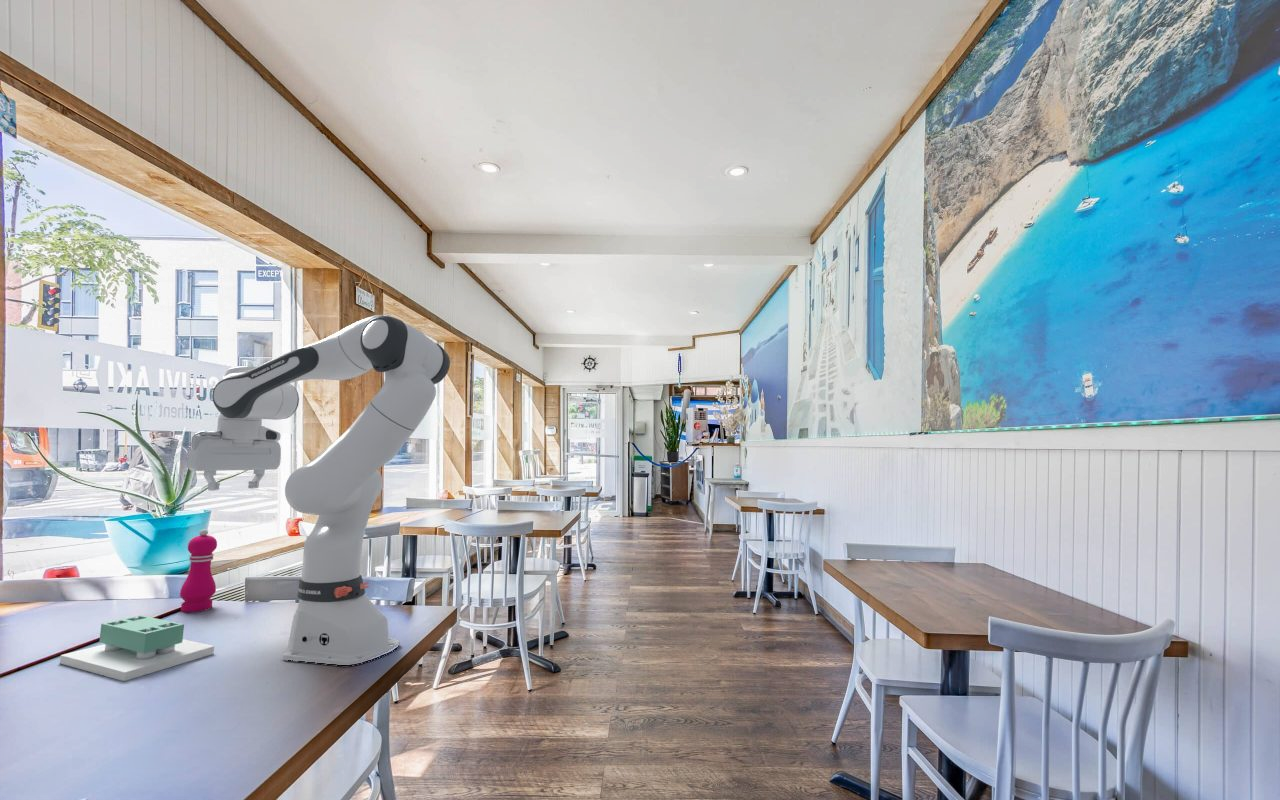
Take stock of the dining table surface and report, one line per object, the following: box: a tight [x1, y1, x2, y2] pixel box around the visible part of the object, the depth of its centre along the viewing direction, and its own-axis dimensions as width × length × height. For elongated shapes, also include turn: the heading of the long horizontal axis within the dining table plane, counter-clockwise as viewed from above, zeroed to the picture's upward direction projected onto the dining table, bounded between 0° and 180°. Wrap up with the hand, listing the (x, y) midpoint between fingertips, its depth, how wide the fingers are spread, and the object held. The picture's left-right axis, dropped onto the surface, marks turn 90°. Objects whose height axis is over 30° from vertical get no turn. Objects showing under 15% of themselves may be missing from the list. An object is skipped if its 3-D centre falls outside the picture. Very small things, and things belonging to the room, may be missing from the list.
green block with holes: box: [98, 614, 185, 653], centre depth 111 cm, size 14×6×4 cm, turn 69°
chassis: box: [59, 616, 215, 682], centre depth 111 cm, size 20×15×7 cm
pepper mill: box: [179, 528, 218, 613], centre depth 145 cm, size 7×7×20 cm
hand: (233, 489), depth 137 cm, fingers open, 8 cm apart
